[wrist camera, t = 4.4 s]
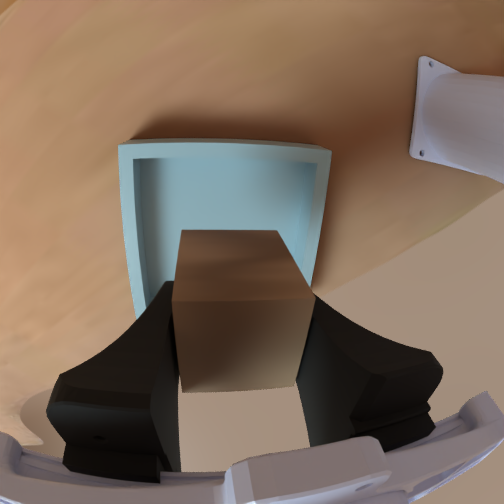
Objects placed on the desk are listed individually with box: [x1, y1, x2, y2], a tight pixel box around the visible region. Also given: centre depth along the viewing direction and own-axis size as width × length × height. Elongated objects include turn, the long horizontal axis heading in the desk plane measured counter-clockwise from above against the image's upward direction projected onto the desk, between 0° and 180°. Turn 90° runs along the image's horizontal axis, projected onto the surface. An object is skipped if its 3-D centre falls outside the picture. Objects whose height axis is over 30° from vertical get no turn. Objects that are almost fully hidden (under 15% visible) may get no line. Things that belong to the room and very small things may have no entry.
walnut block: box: [172, 230, 316, 393], centre depth 11 cm, size 4×4×5 cm
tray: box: [118, 138, 332, 320], centre depth 19 cm, size 12×12×2 cm
